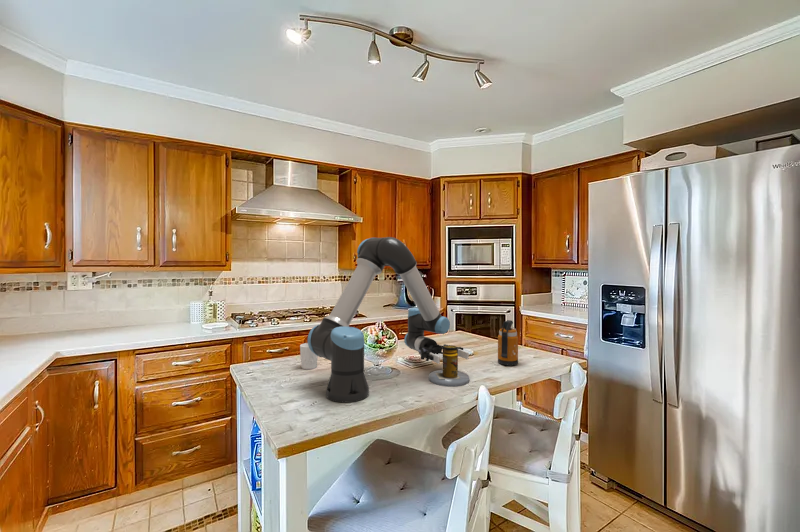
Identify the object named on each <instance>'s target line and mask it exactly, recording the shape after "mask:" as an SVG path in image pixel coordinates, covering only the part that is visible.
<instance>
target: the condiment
mask: <svg viewBox="0 0 800 532" xmlns="http://www.w3.org/2000/svg"><path fill="white" fill-rule="evenodd" d="M443 346H444V345H443ZM457 347H458V346H456V345H452V344H451V345H450V344H446V346H444V352H443V351H442V352H443V354H442V370H443V373H436V375H437V376H438V378H439V379H460V377H459V376H458V371H459V370H458V367H459V365H458V364H459V361H458V359H459V356H458V354H457Z"/></svg>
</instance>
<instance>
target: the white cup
mask: <svg viewBox="0 0 800 532" xmlns="http://www.w3.org/2000/svg"><path fill="white" fill-rule="evenodd" d="M299 352H300V353H299V354H300V363H301V365H300V367H301V369H302V370H314V369H316V368H318V358H319V356H317V355H316V354H314V353H313V352H312V351H311V350H310V349H309V346H308V342H305V343H301V344H300V345H299Z"/></svg>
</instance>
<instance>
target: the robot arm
mask: <svg viewBox="0 0 800 532" xmlns="http://www.w3.org/2000/svg"><path fill="white" fill-rule="evenodd" d="M356 254H357V255H356V257H357V258H356V260H355V261H356V264H357V265H356V267H355V269H354V271H353V273H352V275H351V277H350V278H349V280H348V282H347V284H346V286H345V287H344V289H343V290H342V293H341V294H340V296H339V298H338V300H337V302H336V303H335V305H334V307H333V309H332V310H331V312H330V313H329V315H327V316H324V317H323V318H322V320H321V322H320V324H317V325H315V326H313V327H312V328H311V329H310V331H309V333H308V335H307V343H308V346H309V349H310V350H311V351H312V352H313V353H314V354H316V355H317V356H318V358H323V359H326V360H329V361H330V368H331V369H330V371H331V372H330V377H329V380H328V384H327V386H326V389H325V390H326V391H325V397H326V398H327V399H328V400H329V401H332V402H337V403H354V402H359V401H362V400H364V399H366V398H367V397H369V394H370V386H369V383H368V380H367V378H366V375H365V334H364V332H363V331H362V330H361V329H359V328H357V327H355V326H354V327H353V326H350V324H351V323H352V320H353V318H355V315H356V313H357V311H358V309H359V307H360V306H361V304H362V302H363V300H364V298H365V296H366V294H367V293H368V290H369V289H370V287H371V285H372V283H373V281H374V280H375V278H376V276H377V275H381V274H382V272H383V270H384V269H385V266H387V267H390V268H392V269H393V271H394V273H395V274H396V275H399V277H400V278H401V280H402V282H403V284H404V286H405V288H406V290H407V291H408V293H409V295H410V296H411V298H412V301H413V303H414V304H415V306H416V307H409V309H408V311H407V312H408V313H407V333H406V334H405V335H404V339H403V340H404V341H403V342H404V344H405V345H406V347H408V348H409V349H411V350H413V351H416V352H418V354H419V355H420V359H421V361H422V360H425V361H426V362H429V361H431V362H434V363H436V364H438V365H439V364H440V363H441V356H440V355H443V352H444V346H446V345H447V344H443V345H440V344H438V343H437V341H436V339H432V338H430V337H428V336H425V332H430V333H435V334H441V335H445V334H447V333H448V332H449V329H450V327H451V322H450V319H449V318H448V317H447V316H444V315H443V316H442V314H441V313H440V310H439V309H438V306H437V304H436V302H435V301H434V299H433V297H432V295H431V293H430V291H429V289H428V287H427V285H426V283H425V281H424V280H423V277H422V275H421V272H420V271H419V270H418V267H417V263H418V262H417V260H416V259H415V256H414V255H413V253H412V252H411V251H410V248H408V246H407V245H406V244H405V243H404V242H402V240H400V239H398V238H396V237H394V236H393V237H392V236H386V237H369V238H366V239H364V240H362V241H361V242H360V244H359V245H358V247H357V250H356ZM456 347H457V354H458V357H460V358H463V359H465V360H469V358H470V357H469V355H470V354H469V351H466V350H464V347H461V346H456ZM440 365H441V364H440Z"/></svg>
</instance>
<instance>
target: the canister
mask: <svg viewBox="0 0 800 532" xmlns="http://www.w3.org/2000/svg"><path fill="white" fill-rule="evenodd" d="M513 324H514V321H513V320H509V319H507V320H506V321H505V320H504V321H503V323H502V326H501V328H500V329H499V331H498V333H499V334H498V335H497V363H499V364H501V365H503V366H509V367H510V366H511V367H512V366H515V365H518V364H519V335H518V332H517V329H516V328H515V327H513Z"/></svg>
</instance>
